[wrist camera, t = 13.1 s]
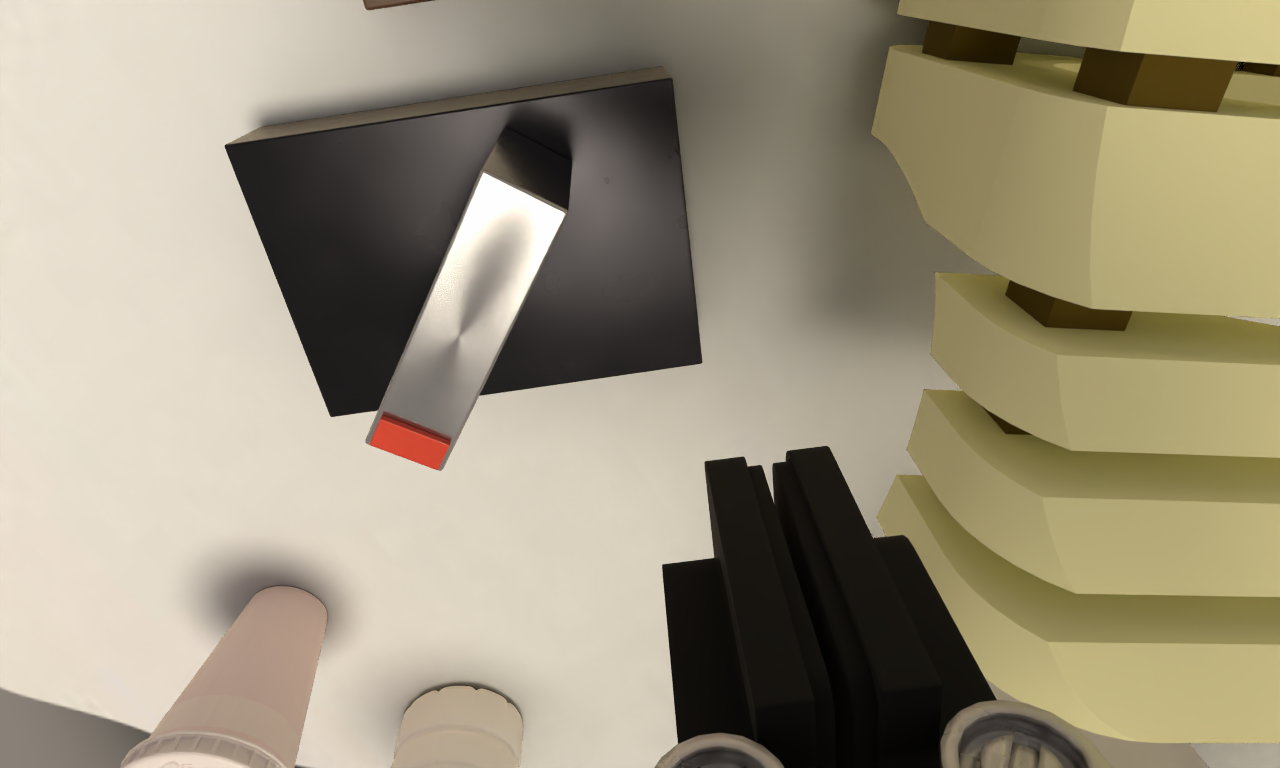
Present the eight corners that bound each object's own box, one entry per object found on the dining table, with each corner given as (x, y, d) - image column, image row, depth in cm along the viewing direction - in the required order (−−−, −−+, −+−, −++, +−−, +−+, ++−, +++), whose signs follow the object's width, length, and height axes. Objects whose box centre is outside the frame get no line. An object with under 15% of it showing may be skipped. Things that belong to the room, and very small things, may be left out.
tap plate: (664, 65, 26) (672, 77, 23) (693, 329, 31) (702, 363, 28) (260, 126, 26) (223, 145, 24) (352, 379, 31) (330, 418, 28)
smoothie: (239, 546, 35) (50, 862, 23) (375, 592, 37) (268, 908, 24) (202, 636, 37) (14, 964, 25) (331, 675, 39) (214, 999, 27)
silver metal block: (504, 125, 24) (479, 170, 19) (573, 161, 24) (569, 214, 19) (404, 357, 27) (361, 448, 22) (467, 383, 28) (439, 477, 23)
